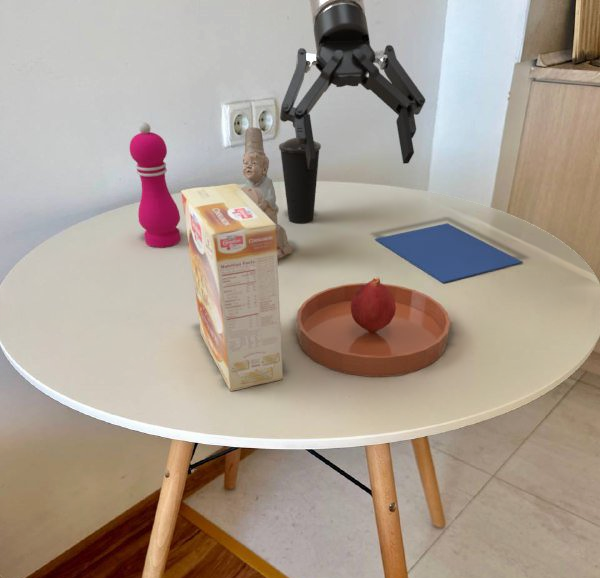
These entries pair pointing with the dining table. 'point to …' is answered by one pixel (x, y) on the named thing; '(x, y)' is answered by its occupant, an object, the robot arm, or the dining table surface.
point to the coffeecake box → (235, 283)
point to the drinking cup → (299, 180)
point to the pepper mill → (154, 190)
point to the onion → (373, 306)
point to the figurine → (262, 185)
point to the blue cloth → (447, 252)
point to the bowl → (372, 346)
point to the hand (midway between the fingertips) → (360, 161)
